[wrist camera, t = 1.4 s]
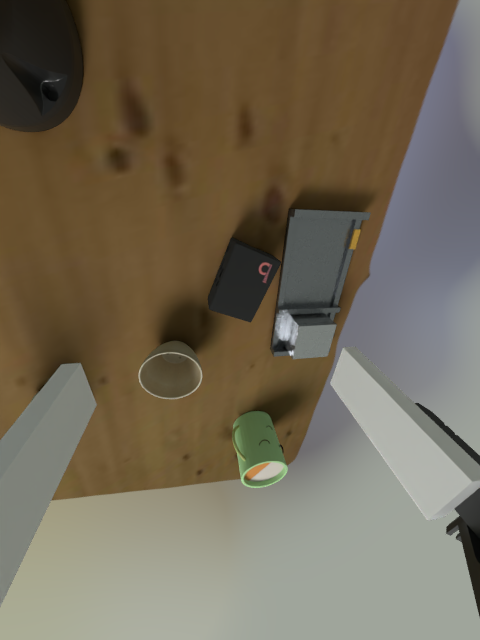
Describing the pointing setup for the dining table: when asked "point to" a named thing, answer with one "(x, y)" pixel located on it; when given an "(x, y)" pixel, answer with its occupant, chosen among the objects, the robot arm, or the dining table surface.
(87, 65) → the dining table surface
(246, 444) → the mug
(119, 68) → the dining table surface
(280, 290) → the dark gray tray
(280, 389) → the dining table surface
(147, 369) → the flower pot
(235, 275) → the electronic device
